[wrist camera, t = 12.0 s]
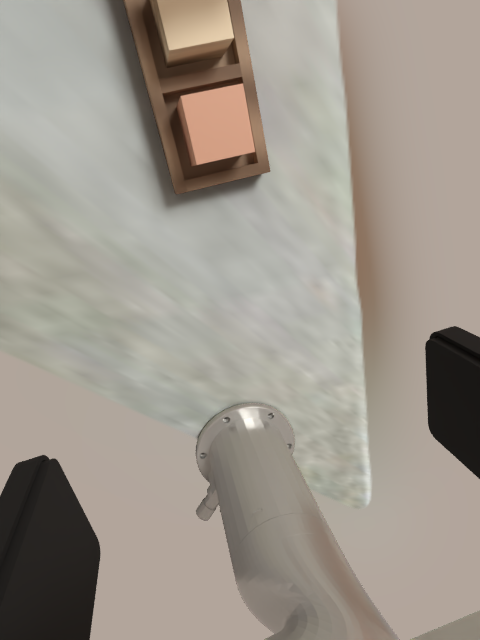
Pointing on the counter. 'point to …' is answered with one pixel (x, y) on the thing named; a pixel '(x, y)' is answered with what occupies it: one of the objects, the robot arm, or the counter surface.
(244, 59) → the walnut tray
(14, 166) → the counter surface
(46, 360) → the counter surface
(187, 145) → the brick cube
